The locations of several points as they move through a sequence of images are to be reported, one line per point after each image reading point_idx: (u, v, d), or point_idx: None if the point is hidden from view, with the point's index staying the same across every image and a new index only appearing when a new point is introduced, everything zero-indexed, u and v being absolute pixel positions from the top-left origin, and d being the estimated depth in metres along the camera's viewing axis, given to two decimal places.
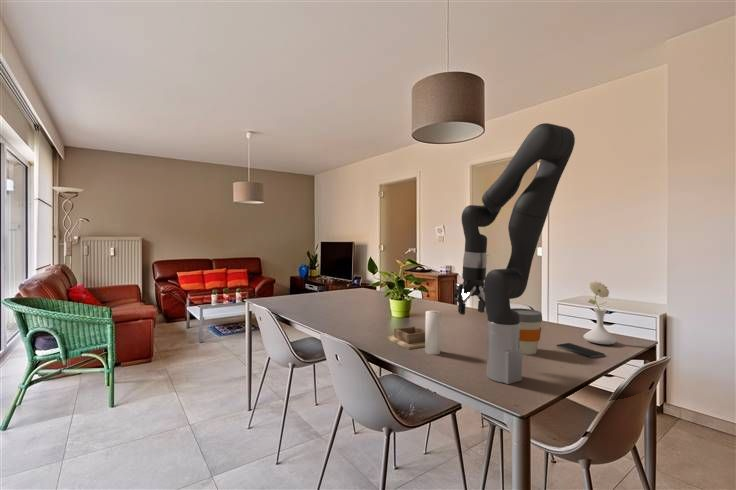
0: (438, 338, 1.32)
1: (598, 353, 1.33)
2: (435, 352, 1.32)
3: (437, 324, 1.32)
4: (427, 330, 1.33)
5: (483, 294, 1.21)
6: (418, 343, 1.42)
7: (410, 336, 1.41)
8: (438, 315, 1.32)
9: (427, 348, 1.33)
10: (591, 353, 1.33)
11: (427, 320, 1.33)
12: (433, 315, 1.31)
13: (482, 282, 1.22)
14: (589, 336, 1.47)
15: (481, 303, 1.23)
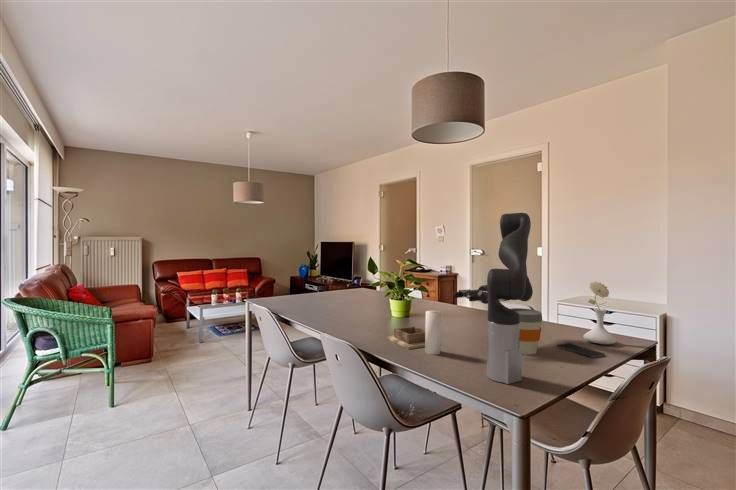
0: (438, 338, 1.32)
1: (598, 353, 1.33)
2: (435, 352, 1.32)
3: (437, 324, 1.32)
4: (427, 330, 1.33)
5: (480, 292, 1.41)
6: (418, 343, 1.42)
7: (410, 336, 1.41)
8: (438, 315, 1.32)
9: (427, 348, 1.33)
10: (591, 353, 1.33)
11: (427, 320, 1.33)
12: (433, 315, 1.31)
13: (487, 293, 1.43)
14: (589, 336, 1.47)
15: None
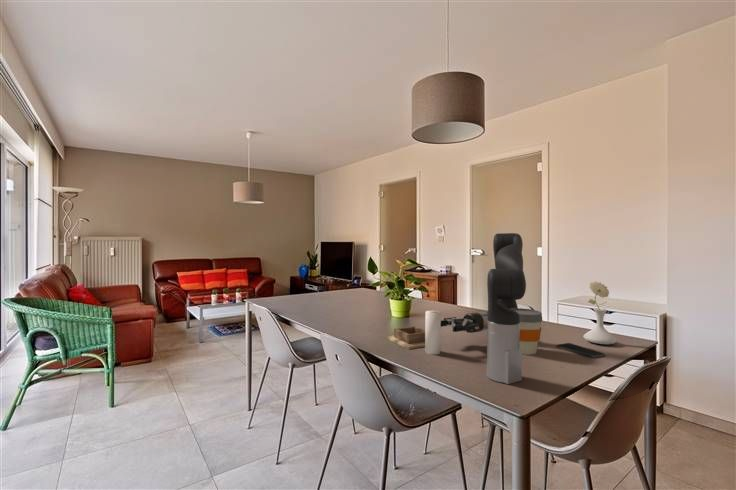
0: (438, 338, 1.32)
1: (598, 353, 1.33)
2: (435, 352, 1.32)
3: (437, 324, 1.32)
4: (427, 330, 1.33)
5: (465, 321, 1.37)
6: (418, 343, 1.42)
7: (410, 336, 1.41)
8: (438, 315, 1.32)
9: (427, 348, 1.33)
10: (591, 353, 1.33)
11: (427, 320, 1.33)
12: (433, 315, 1.31)
13: (472, 322, 1.39)
14: (589, 336, 1.47)
15: None
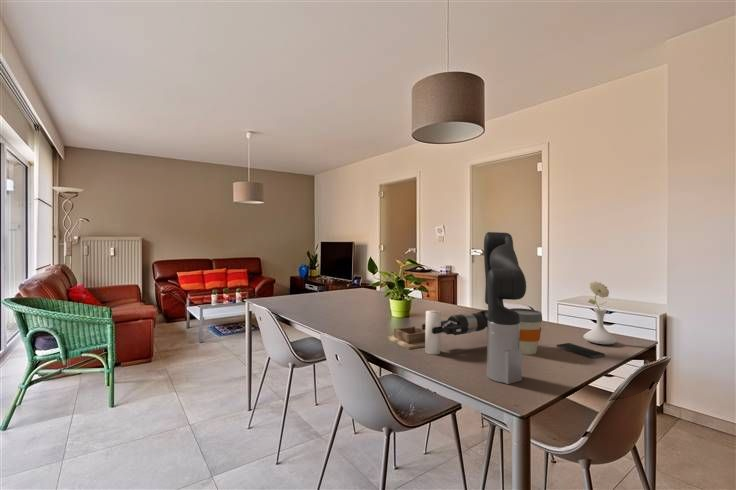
0: (438, 338, 1.32)
1: (598, 353, 1.33)
2: (435, 352, 1.32)
3: (437, 324, 1.32)
4: (427, 330, 1.33)
5: (446, 323, 1.34)
6: (418, 343, 1.42)
7: (410, 336, 1.41)
8: (438, 315, 1.32)
9: (427, 348, 1.33)
10: (591, 353, 1.33)
11: (427, 320, 1.33)
12: (433, 315, 1.31)
13: (456, 324, 1.35)
14: (589, 336, 1.47)
15: None
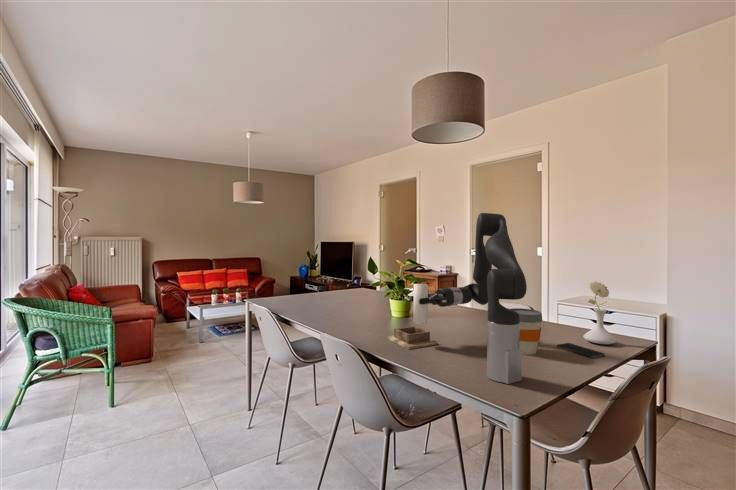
0: (425, 309, 1.41)
1: (598, 353, 1.33)
2: (422, 321, 1.41)
3: (424, 296, 1.41)
4: (415, 301, 1.42)
5: (433, 295, 1.43)
6: (418, 343, 1.42)
7: (410, 336, 1.41)
8: (425, 287, 1.41)
9: (415, 318, 1.42)
10: (591, 353, 1.33)
11: (415, 292, 1.42)
12: (420, 287, 1.40)
13: (443, 296, 1.44)
14: (589, 336, 1.47)
15: None
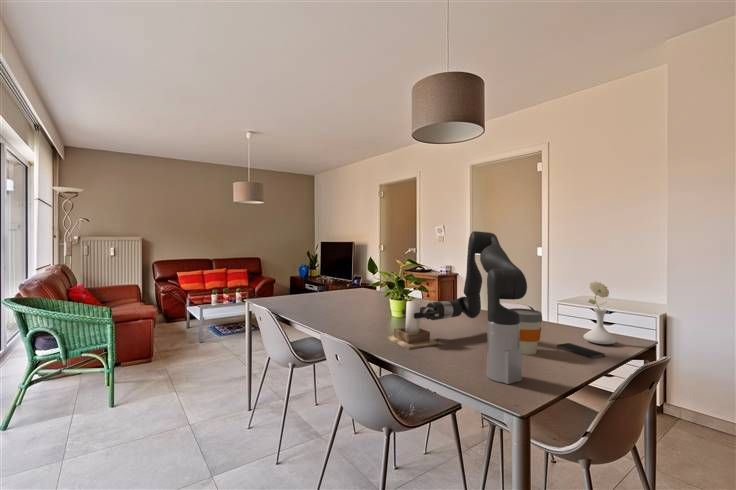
0: (417, 326, 1.46)
1: (598, 353, 1.33)
2: None
3: None
4: (407, 318, 1.46)
5: (426, 309, 1.47)
6: (418, 343, 1.42)
7: (410, 336, 1.41)
8: (417, 305, 1.46)
9: None
10: (591, 353, 1.33)
11: (407, 309, 1.46)
12: (413, 305, 1.45)
13: (433, 310, 1.49)
14: (589, 336, 1.47)
15: None
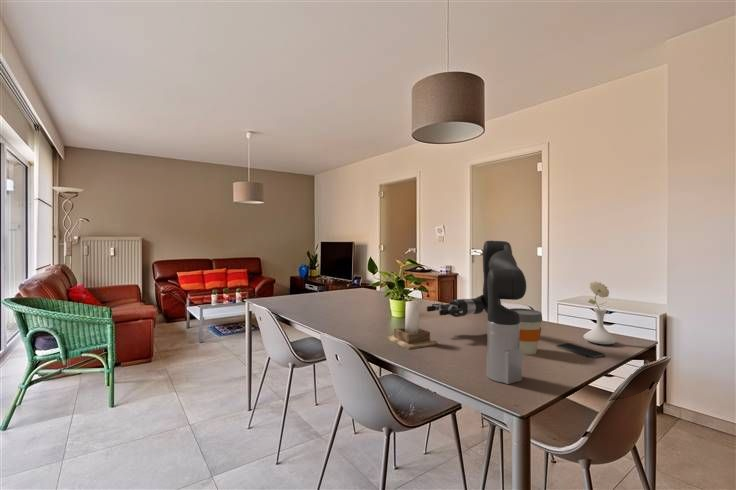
0: (416, 326, 1.46)
1: (598, 353, 1.33)
2: None
3: (416, 313, 1.45)
4: (407, 319, 1.46)
5: (450, 306, 1.53)
6: (418, 343, 1.42)
7: (410, 336, 1.41)
8: (416, 305, 1.46)
9: None
10: (591, 353, 1.33)
11: (407, 309, 1.46)
12: (412, 305, 1.45)
13: (457, 307, 1.55)
14: (589, 336, 1.47)
15: None
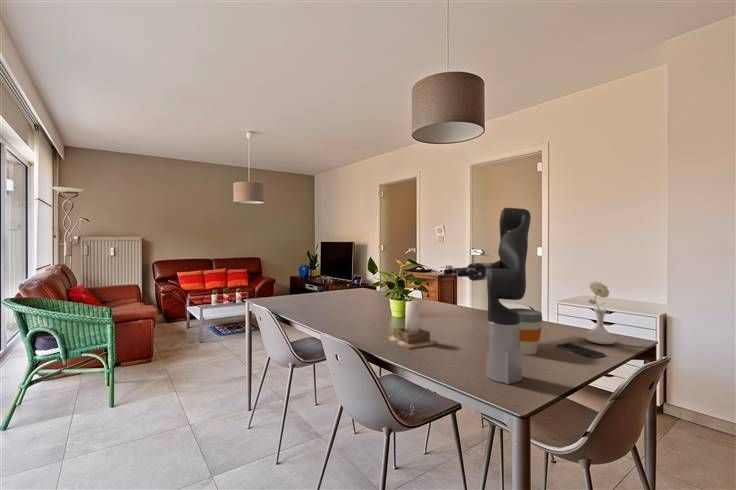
0: (416, 326, 1.46)
1: (598, 353, 1.33)
2: None
3: (416, 313, 1.45)
4: (407, 319, 1.46)
5: (468, 269, 1.50)
6: (418, 343, 1.42)
7: (410, 336, 1.41)
8: (416, 305, 1.46)
9: None
10: (591, 353, 1.33)
11: (407, 309, 1.46)
12: (412, 305, 1.45)
13: (475, 270, 1.52)
14: (589, 336, 1.47)
15: None
